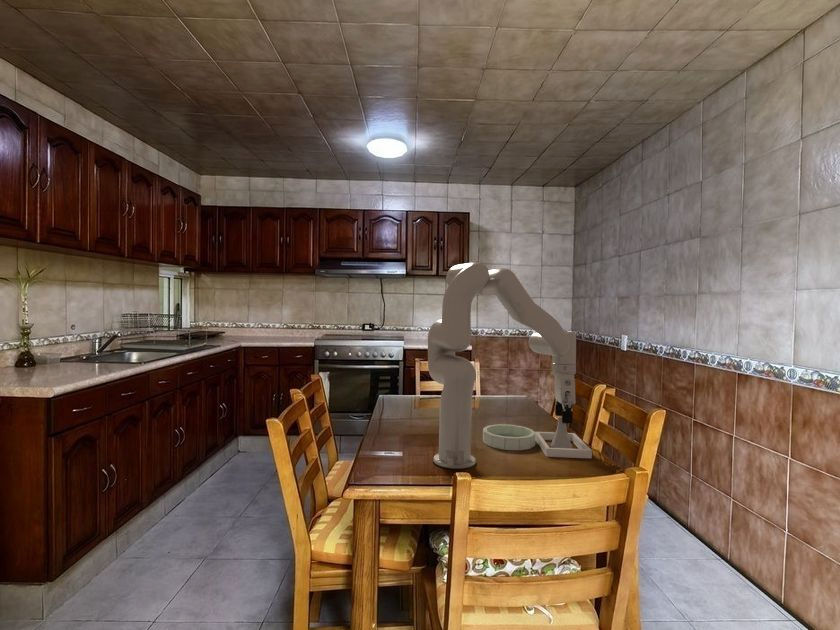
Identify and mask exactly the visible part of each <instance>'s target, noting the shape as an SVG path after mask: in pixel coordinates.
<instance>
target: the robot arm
mask: <svg viewBox="0 0 840 630" xmlns="http://www.w3.org/2000/svg"><path fill="white" fill-rule="evenodd" d="M445 280H446V283H447V285H448V286H447V288H446V290H445V293H444V295H443V298H442V310H441V319H438V320H436V321H434V322H433V324H432V325H431V326H430V328H429V331H428V333H427V368H428V369H427V370H428V373H429V376H430V377H431V379H432V380H433V381H434V382H436V383H438V384H440V385H443V387H442V390H441V394H440V399H439V426H438V427H439V432H438V434H439V435H438V453H436V454H434V456H433V458H432V459H433V462H434V464H436V465H437V466H439V467H442V468H447V469H452V470H453V469H454V470H455V469H457V470H459V469H460V470H461V469H467V468H472V467H473V466H475V464H476V460H477V459H476V457H475V456H474V455H471V450H472V449H471V448H472V416H473V415H472V414H473V413H472V405H473V392H474V386H475V384H476V383H475V382H476V368H475V366H474V364H473V363H472V362H471V361H470V360H468V359H467V358H465V357H463V356H458V355H456V353H460V352H461V353H462V352H464V351H466V350H467V349H468V348H469V346H470V345H471V341H472V325H471V324H472V319H471V318H472V315H471V314H472V313H471V312H472V311H471V310H472V303H473V300H474V298H475V297H476V295H477V296H478V295H479V296H487V297H488V296H496V298H497V299H498V301H500V303H501V305H502V306H503V307H504V310H506V312H507V313H508V315H509V316H510V318H511V319H512V320H514V321H516V322H517V323H519V324H521V325H523V326H526V327H528V328H529V329H531V330H533V331H535V332H534V333H532V334H530V336H529V338H528V343H527V344H528V346H529V349H530V350H532V352H534V353H536V354H540V355H544V356H551V357H552V359H551V360H552V363H551V367H552V369H551V370H552V374H554V389H553V390H554V392H553V394H554V398H555V401H554V403H555V404H554V414H555V416H556V417H562V423H566V424H573V413H574V412H573V407H574V406H573V405H575V404H576V381H575V374H576V373H577V367H576V366H577V335H576V333H575V332H573V331H565V330H564V328H563V327H562V325H561V324H560V323H559V322H558V320H557V319H555V318H554V316H552V314H550V313H549V312H547V310H544V309H543V308H542V307H541V306H540V305H538V304H536V303H535V301H534V300H533V299H532V297H531V296H530V295H529V293H528V291H527V290H526V289H525V287H524V286H523V284H522V282H520V280H519V278H518V277H517V276H516V274H515V273H514V272H513V271H512V270H511V269H509V268H495V269H494V268H493V269H489V267H487V265H486V264H484V263H483V262H479V261H478V262H475V261H474V262H467V263H459V264H455V265H453V266H452V267H450V268H449V269H448V271H447V273H446V276H445Z"/></svg>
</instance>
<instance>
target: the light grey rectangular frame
mask: <svg viewBox="0 0 840 630" xmlns="http://www.w3.org/2000/svg"><path fill="white" fill-rule="evenodd" d="M534 432H535V443H537V445H538V447H540V449H541V450H542V452H543V453H544V456H545V457H549V458H568V459H569V458H571V459H572V458H573V459H575V458H576V459H592V458H593V450H592V449H591V448H590V447H589V446H588V445H587V444H586V443H585V442H584V441H583V439H581V438H580V437H579V436H578V435H577V434H576V433H575V432H567V433H568V436H569V439H570V442H572V443H573V444H574V445H575V446H576V447H577V448H572V449H569V448H552V447H550V446H549V445H548V443H547V442H546V441H552V440H553V438H554V435H555V433H556V431H555V432H554V431H534Z"/></svg>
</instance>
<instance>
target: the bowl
mask: <svg viewBox="0 0 840 630" xmlns="http://www.w3.org/2000/svg"><path fill="white" fill-rule="evenodd" d="M535 432H536V431H534V430H533V429H531V428H530V427H529V428H528V427H526V426H521V425H517V424H505V423H503V424H501V423H500V424H491V425H486V426H485V427H483V429H482V441H483V444H485V445H486V446H488V447H491V448H493V449H498V450H499V449H500V450H502V451H503V450H505V451H524V450H531V449H532V448H534V447H535V446H536V440H535Z"/></svg>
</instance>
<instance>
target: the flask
mask: <svg viewBox="0 0 840 630" xmlns="http://www.w3.org/2000/svg"><path fill="white" fill-rule="evenodd" d="M556 420H557V426H556V427H557V428H556V430H555V432H556V433H555V435H554V438H553V440H551V444H550V446H549V448H569V449H573V444H572V443H571V442H572V441H570V439H569V436H568V433H569V432H568V429H567V423H562V416H557V418H556Z"/></svg>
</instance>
